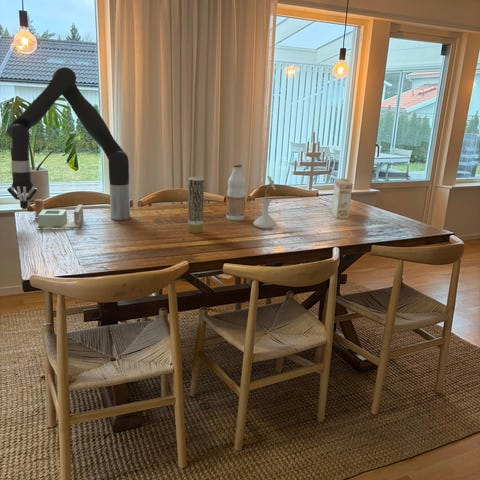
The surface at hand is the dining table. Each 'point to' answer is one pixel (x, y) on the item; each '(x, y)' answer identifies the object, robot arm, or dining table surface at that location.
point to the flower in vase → (266, 211)
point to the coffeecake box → (341, 198)
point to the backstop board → (71, 220)
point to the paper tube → (195, 204)
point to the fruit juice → (236, 194)
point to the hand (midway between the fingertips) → (24, 208)
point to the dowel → (38, 206)
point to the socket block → (52, 217)
